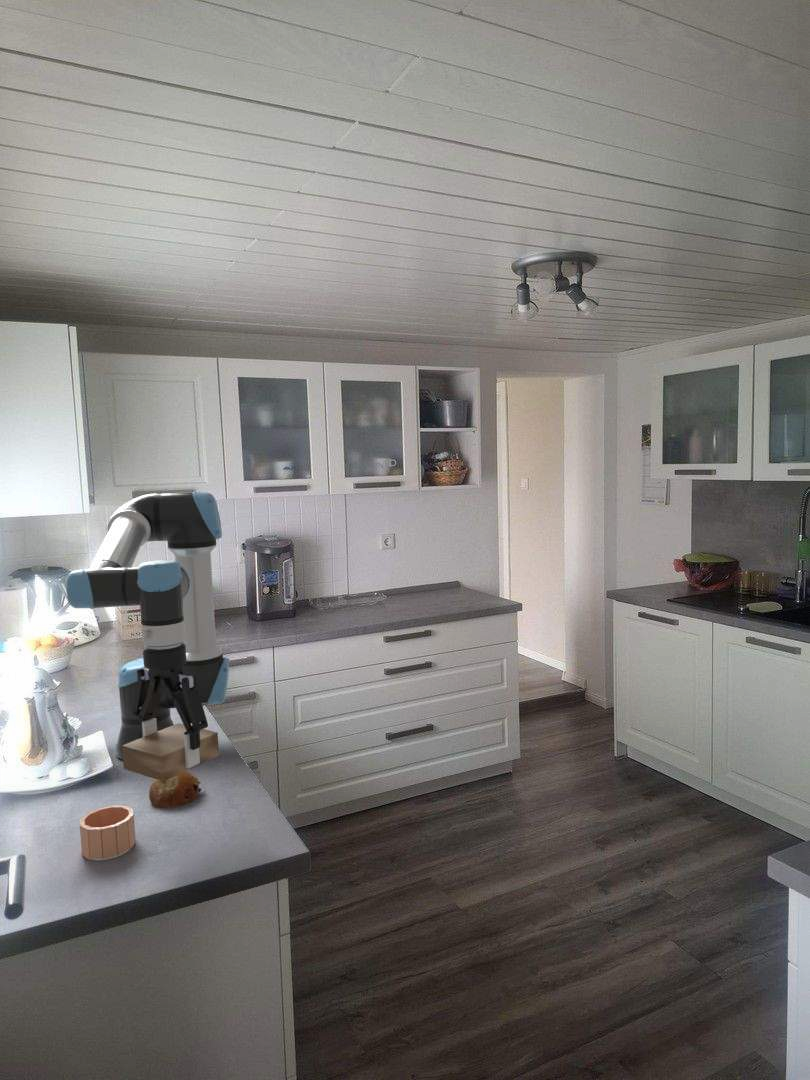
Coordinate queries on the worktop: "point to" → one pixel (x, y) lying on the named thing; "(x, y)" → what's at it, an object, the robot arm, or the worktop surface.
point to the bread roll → (174, 790)
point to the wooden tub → (107, 832)
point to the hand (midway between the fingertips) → (171, 759)
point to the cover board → (166, 752)
